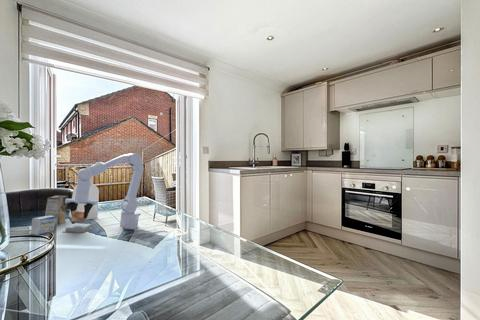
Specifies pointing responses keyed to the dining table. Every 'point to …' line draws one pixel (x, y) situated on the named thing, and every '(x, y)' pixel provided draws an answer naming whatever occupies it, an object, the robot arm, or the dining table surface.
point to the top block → (78, 227)
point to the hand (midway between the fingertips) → (79, 217)
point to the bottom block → (77, 232)
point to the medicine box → (42, 225)
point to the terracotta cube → (78, 216)
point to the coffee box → (57, 208)
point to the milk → (92, 196)
